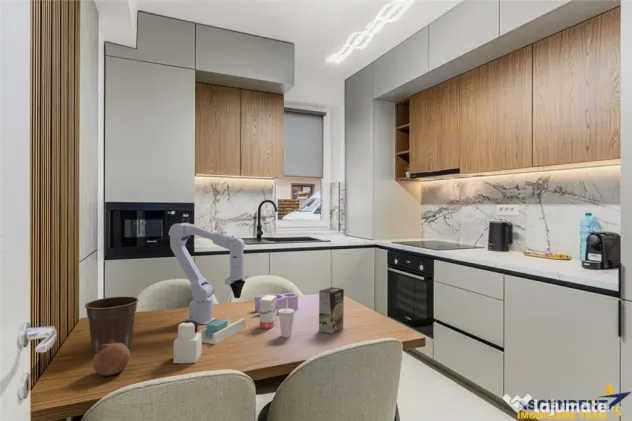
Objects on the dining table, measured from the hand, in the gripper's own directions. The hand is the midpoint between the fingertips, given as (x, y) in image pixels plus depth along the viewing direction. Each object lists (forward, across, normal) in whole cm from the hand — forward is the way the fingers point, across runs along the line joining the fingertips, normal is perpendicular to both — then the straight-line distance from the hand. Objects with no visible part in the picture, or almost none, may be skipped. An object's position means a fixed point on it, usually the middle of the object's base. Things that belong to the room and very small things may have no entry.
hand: (237, 297), depth 150 cm
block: (+9, -18, -3) cm, 20 cm away
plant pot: (+10, -39, +26) cm, 48 cm away
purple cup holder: (+11, +21, -8) cm, 25 cm away
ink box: (+11, +1, -14) cm, 18 cm away
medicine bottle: (+11, -37, -6) cm, 39 cm away
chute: (+10, -14, -2) cm, 18 cm away
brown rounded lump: (+10, -53, +8) cm, 55 cm away
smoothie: (+11, -7, -26) cm, 30 cm away
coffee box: (+11, +6, -40) cm, 42 cm away
